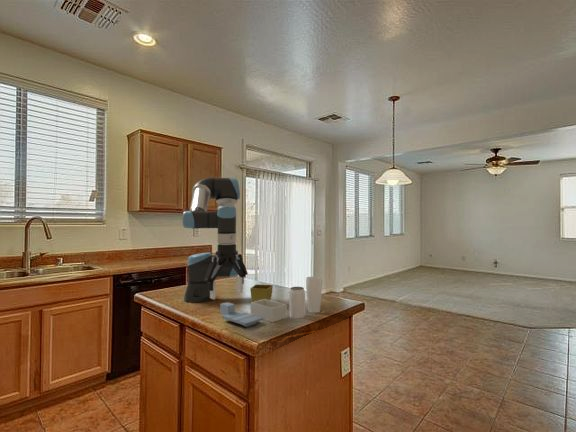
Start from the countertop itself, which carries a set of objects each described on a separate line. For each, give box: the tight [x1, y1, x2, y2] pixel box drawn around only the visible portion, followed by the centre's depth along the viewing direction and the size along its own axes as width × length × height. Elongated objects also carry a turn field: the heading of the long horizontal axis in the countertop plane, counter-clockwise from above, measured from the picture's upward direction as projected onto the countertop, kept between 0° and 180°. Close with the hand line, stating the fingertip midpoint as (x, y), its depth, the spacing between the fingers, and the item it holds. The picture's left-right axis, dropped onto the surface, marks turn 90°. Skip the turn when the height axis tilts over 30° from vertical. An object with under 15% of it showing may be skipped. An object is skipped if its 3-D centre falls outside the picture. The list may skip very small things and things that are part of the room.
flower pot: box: [249, 283, 274, 302], centre depth 148 cm, size 9×9×9 cm
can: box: [288, 286, 306, 319], centre depth 130 cm, size 6×6×12 cm
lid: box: [219, 301, 264, 328], centre depth 123 cm, size 19×9×6 cm, turn 47°
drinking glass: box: [305, 276, 323, 314], centre depth 137 cm, size 7×7×15 cm
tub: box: [250, 299, 287, 323], centre depth 129 cm, size 13×8×6 cm, turn 47°
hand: (226, 295), depth 129 cm, fingers open, 13 cm apart
